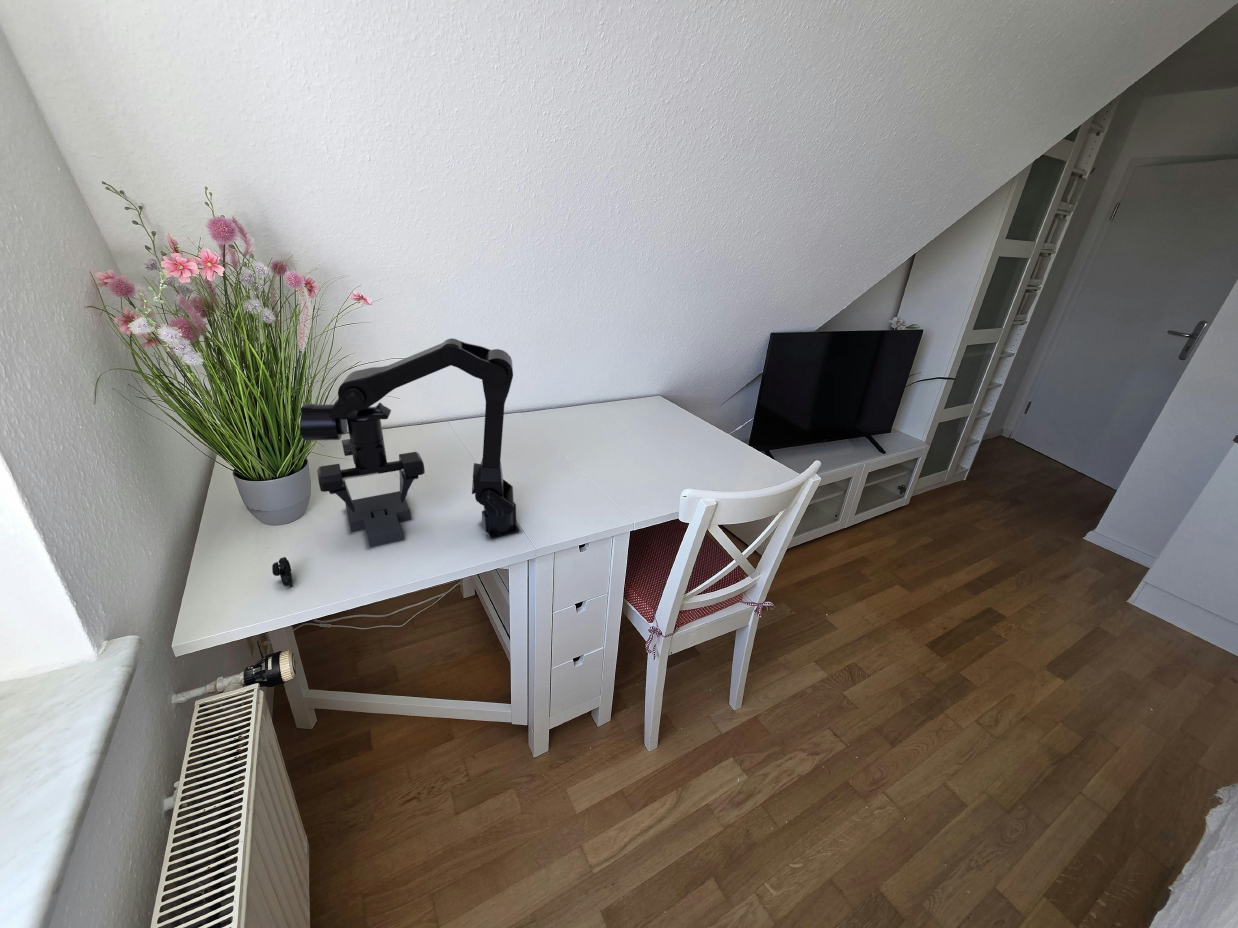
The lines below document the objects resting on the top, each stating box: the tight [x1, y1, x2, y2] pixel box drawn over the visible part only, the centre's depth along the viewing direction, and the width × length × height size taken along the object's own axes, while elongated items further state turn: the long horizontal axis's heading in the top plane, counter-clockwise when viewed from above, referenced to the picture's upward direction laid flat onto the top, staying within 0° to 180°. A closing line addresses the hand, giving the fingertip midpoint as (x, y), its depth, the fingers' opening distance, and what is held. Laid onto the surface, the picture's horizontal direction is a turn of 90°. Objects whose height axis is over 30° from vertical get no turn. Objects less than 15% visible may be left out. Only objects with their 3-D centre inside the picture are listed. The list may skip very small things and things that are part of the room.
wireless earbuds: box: [271, 556, 294, 588], centre depth 93 cm, size 7×2×5 cm, turn 32°
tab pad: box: [364, 510, 404, 548], centre depth 109 cm, size 6×9×2 cm
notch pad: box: [344, 490, 411, 533], centre depth 114 cm, size 12×9×2 cm
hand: (378, 506), depth 105 cm, fingers open, 9 cm apart
